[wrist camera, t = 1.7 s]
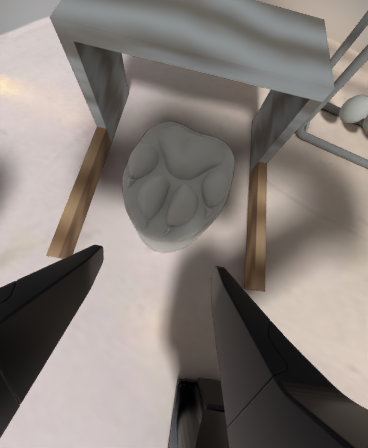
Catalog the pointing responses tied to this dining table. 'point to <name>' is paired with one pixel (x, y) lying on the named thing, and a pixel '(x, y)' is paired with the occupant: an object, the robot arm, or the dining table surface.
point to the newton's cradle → (351, 108)
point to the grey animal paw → (176, 185)
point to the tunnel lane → (201, 62)
